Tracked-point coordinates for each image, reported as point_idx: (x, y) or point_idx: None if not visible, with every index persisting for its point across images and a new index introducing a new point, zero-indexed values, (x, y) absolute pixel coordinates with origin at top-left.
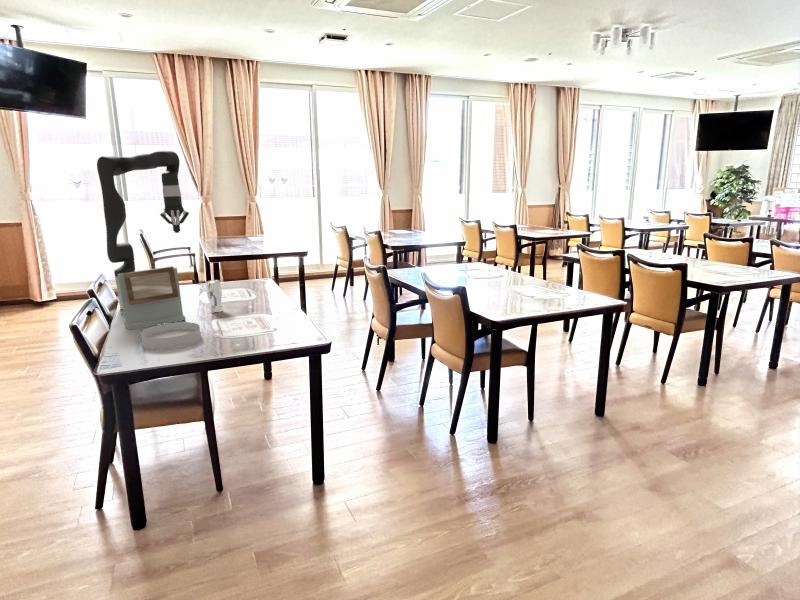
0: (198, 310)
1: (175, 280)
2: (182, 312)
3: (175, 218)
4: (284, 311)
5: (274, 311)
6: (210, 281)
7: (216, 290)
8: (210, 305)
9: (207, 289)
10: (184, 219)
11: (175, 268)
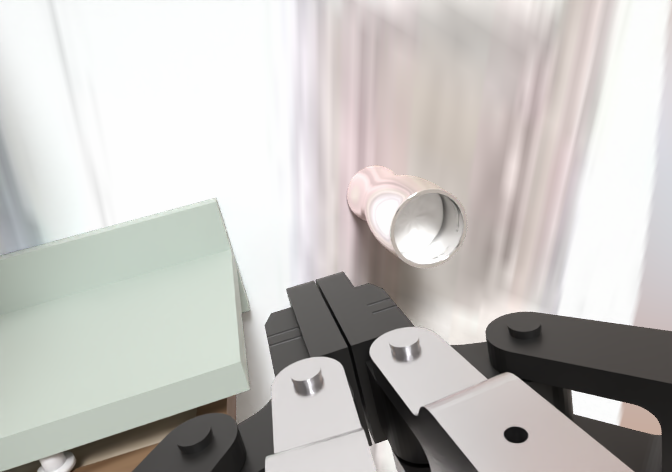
0: (295, 139)
1: (234, 404)
2: (236, 269)
3: (431, 427)
4: (599, 300)
5: (571, 287)
6: (415, 194)
7: (421, 253)
8: (360, 210)
9: (380, 242)
10: (642, 467)
11: (240, 390)
